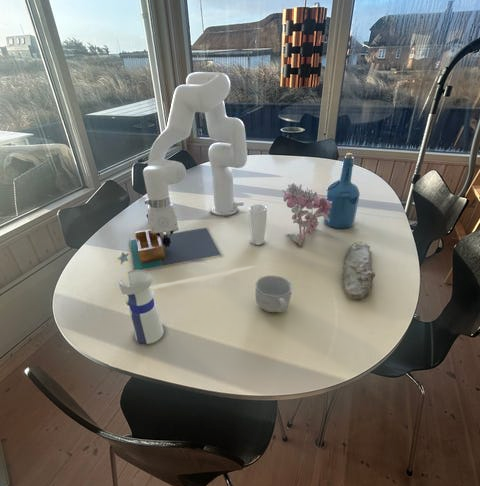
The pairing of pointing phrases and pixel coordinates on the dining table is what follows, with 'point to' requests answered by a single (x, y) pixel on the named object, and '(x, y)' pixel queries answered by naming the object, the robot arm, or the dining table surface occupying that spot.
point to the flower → (305, 199)
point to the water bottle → (142, 305)
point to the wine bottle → (343, 197)
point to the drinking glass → (257, 223)
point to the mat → (180, 249)
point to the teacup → (273, 293)
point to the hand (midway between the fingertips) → (167, 245)
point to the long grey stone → (358, 271)
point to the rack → (149, 247)
